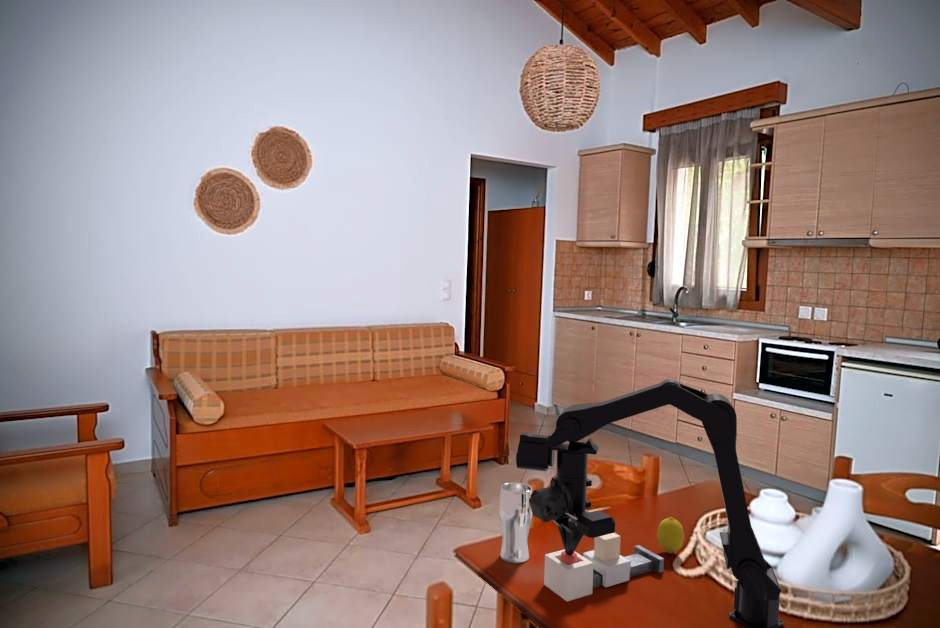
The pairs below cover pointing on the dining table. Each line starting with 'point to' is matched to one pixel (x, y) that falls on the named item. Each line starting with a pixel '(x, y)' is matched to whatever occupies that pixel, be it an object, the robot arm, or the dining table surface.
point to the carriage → (609, 560)
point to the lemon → (670, 535)
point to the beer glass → (515, 521)
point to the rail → (637, 564)
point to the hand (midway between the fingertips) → (569, 554)
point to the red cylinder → (568, 558)
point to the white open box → (568, 576)
